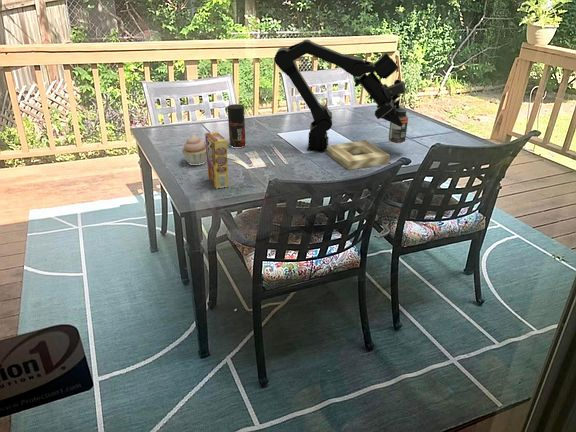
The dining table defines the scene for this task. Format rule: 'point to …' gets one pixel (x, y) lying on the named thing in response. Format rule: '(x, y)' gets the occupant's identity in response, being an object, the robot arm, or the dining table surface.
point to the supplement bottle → (397, 132)
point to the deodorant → (236, 125)
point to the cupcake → (195, 150)
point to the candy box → (217, 159)
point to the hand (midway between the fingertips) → (403, 123)
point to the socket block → (367, 159)
